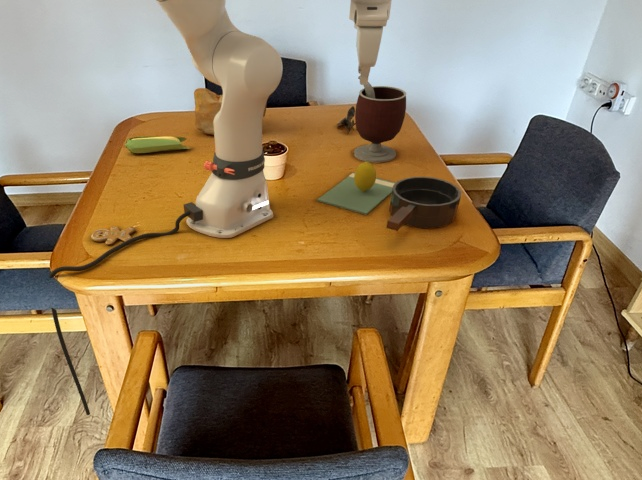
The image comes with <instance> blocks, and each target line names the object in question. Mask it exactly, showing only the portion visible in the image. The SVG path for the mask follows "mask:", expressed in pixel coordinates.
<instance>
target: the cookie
mask: <svg viewBox="0 0 642 480" xmlns="http://www.w3.org/2000/svg"><path fill="white" fill-rule="evenodd" d="M135 232H136V228H135V227H132V226H130V227H127V228H124V229H122V230H120V228H119V227H118V226H115V225H114V226H111V227H110V229H106V228H100V229H97V230H94V232H92V233H91V240H92V241H93V242H96V243H103V242H105V244H106V245H107V246H112V245H113V244H115V243H116V242H117V241H118V240H121V241H122V242H125V241H127V240H129V239H131V238H133V236H131V235H132V234H134V233H135Z"/></svg>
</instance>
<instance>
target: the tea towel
mask: <svg viewBox="0 0 642 480" xmlns="http://www.w3.org/2000/svg"><path fill="white" fill-rule="evenodd" d="M354 175H355V172H352V173H350V174H349V175H348V176H347V177H346V178H344V179H343V180H341V181H340V182H339V183H337V184H336V185H335V186H333V187H332V188H331V189H329V190H328V191H327V192H325V193H323V195H321V196H320V197H319V198H318V199H317V200H316V201H317V202H319V203H322V204H325V205H330V206H333V207H337V208H340V209H343V210H347V211H351V212H354V213H358V214H361V215H365V216H367V215H369V214H370V213H371V212H372V211H374V209H375V208H376V207H378V206H379V205H380V204H381V203H382V202H383V201H384V200H386V199H387V198H388V197H389V196H391V195H392V189H393V185H394V184H395V183H396V182H395V181H391V180H387V179H383V178H378V177H376V181H375V183H374V185H373V186H372V187H371V188H370V189H369V190H366V191H365V192H362V191H361V190H360V189H358V188H357V187H356V185H355V182H354Z"/></svg>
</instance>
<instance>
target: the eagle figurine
mask: <svg viewBox="0 0 642 480" xmlns="http://www.w3.org/2000/svg"><path fill="white" fill-rule="evenodd" d="M355 111H356V107H355V106H351V107H350V108H349V109H348V111H347V114H346V116H344V117H343V118H341V120H339V122H338V123H336V126H337V127H338V126H344V127H345V129H347V132H346V134H347V135H349V133H350V132H351V131H352V130H353V131H354V130H355V128H354V127H355V126H356V124H355V119H354V118H355Z"/></svg>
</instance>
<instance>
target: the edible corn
mask: <svg viewBox="0 0 642 480" xmlns="http://www.w3.org/2000/svg"><path fill="white" fill-rule="evenodd" d="M186 140H187V138H186V137H183V136H166V135H165V136H162V135H161V136H160V135H159V136H157V135H156V136H154V135H153V136H152V135H151V136H150V135H149V136H133V137H129V138H128V139H127V140H126V142H125V144H124V146H125V149H127V150H128V151H129V152H130V153H132V154H137V155H141V154H149V153H151V154H152V153H158V152H167V151H177V150H189V149H191V147H188V146H186V145H184V144H183V143H182V142H185V141H186Z"/></svg>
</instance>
